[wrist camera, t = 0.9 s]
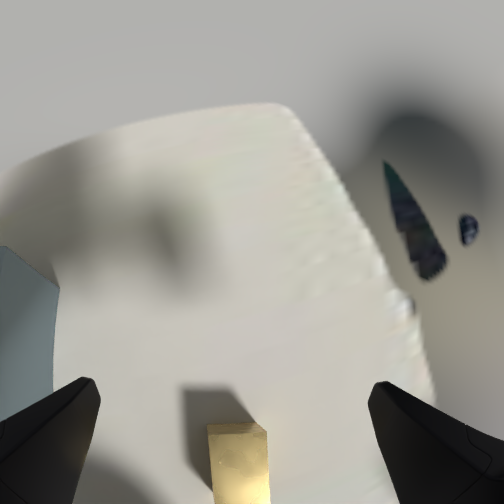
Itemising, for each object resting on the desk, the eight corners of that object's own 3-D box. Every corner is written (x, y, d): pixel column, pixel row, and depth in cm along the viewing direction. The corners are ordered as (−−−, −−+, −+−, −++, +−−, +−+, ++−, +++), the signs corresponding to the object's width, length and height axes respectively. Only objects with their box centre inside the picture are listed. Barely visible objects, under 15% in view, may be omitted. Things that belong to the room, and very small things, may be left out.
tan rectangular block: (259, 488, 15) (270, 506, 12) (212, 491, 14) (215, 511, 11) (255, 421, 17) (266, 431, 14) (206, 423, 17) (208, 434, 13)
